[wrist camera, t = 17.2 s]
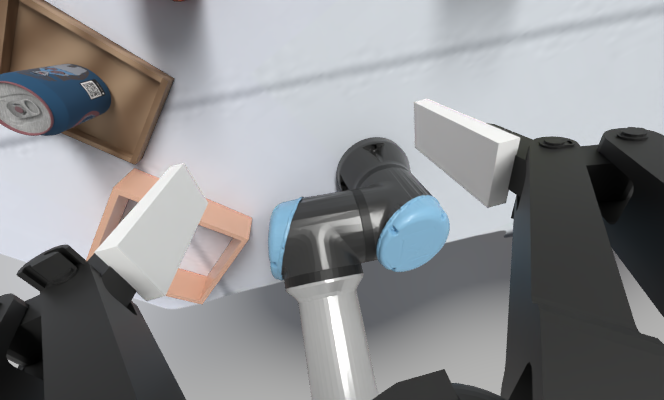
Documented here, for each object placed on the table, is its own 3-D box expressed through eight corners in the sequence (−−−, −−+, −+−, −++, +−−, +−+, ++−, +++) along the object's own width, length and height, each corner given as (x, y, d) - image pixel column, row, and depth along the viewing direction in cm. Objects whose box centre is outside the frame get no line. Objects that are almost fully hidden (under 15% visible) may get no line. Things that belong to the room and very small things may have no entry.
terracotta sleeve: (252, 217, 56) (248, 239, 50) (209, 280, 64) (202, 304, 58) (134, 167, 45) (113, 187, 40) (101, 249, 54) (80, 275, 48)
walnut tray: (174, 78, 39) (168, 81, 37) (141, 158, 45) (135, 164, 43) (19, -15, 31) (0, -18, 29) (4, 97, 37) (-13, 101, 35)
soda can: (81, 117, 39) (14, 146, 29) (44, 68, 35) (-49, 83, 25) (126, 107, 39) (73, 133, 29) (94, 57, 35) (21, 68, 25)
